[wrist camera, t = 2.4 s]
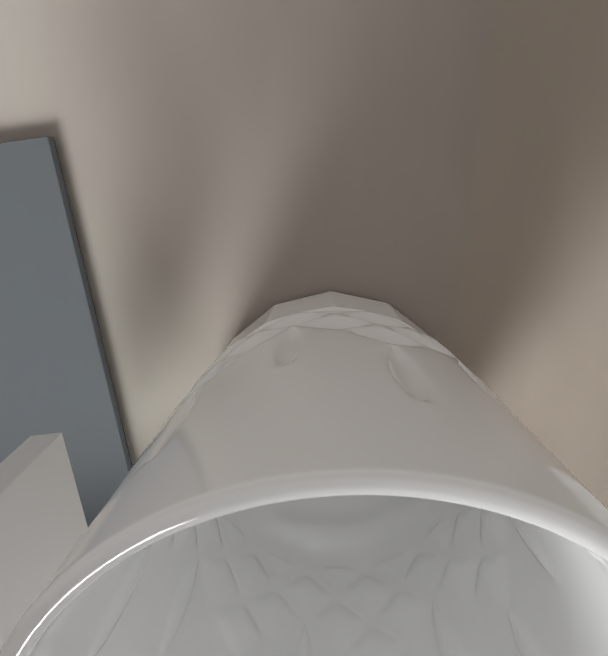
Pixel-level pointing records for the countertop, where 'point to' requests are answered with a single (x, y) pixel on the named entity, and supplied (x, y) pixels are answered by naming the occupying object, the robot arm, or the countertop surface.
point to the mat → (52, 329)
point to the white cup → (334, 513)
